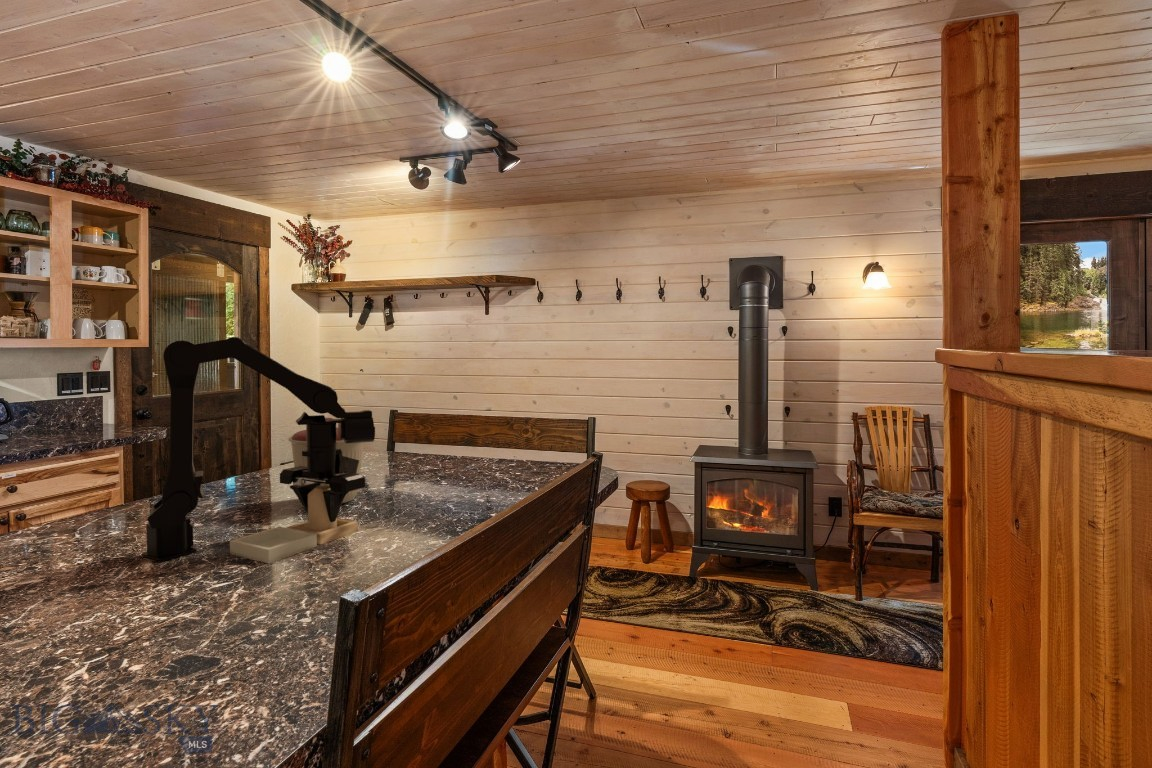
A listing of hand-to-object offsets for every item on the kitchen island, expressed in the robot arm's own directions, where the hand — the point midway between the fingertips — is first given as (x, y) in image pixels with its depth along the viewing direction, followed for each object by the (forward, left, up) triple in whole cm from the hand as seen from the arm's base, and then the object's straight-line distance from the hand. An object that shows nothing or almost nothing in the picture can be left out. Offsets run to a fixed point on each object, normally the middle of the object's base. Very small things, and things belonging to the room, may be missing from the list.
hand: (322, 519), depth 128 cm
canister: (+20, +20, -3) cm, 28 cm away
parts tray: (-12, 0, -3) cm, 12 cm away
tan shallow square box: (0, 0, -3) cm, 3 cm away
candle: (0, 0, -3) cm, 3 cm away
